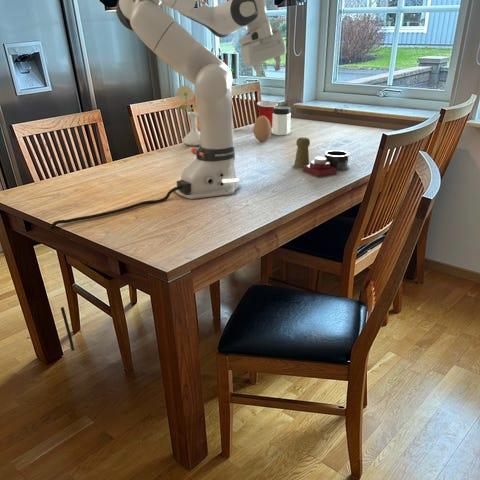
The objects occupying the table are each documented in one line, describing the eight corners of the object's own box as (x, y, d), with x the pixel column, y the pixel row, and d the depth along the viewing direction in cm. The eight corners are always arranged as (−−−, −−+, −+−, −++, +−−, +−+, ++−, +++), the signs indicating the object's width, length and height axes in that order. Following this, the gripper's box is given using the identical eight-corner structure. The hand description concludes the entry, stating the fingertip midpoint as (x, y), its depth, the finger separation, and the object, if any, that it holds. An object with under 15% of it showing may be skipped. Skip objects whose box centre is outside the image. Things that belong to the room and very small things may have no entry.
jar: (277, 130, 246) (277, 105, 240) (292, 132, 243) (293, 106, 237) (269, 134, 240) (270, 108, 233) (285, 136, 237) (285, 109, 230)
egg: (271, 139, 231) (271, 114, 225) (270, 143, 224) (270, 117, 218) (254, 139, 232) (254, 114, 226) (252, 143, 225) (252, 117, 219)
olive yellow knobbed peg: (308, 169, 188) (310, 139, 182) (293, 168, 189) (294, 139, 183) (309, 165, 193) (311, 136, 187) (294, 164, 194) (296, 135, 188)
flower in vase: (210, 142, 227) (207, 83, 214) (202, 148, 218) (199, 87, 204) (184, 141, 230) (179, 83, 216) (175, 146, 221) (170, 86, 207)
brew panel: (319, 177, 179) (320, 166, 177) (303, 171, 186) (303, 160, 184) (336, 174, 182) (337, 163, 180) (319, 168, 189) (320, 157, 187)
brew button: (319, 165, 180) (319, 160, 179) (311, 162, 183) (312, 157, 182) (328, 163, 181) (328, 158, 180) (321, 160, 185) (321, 156, 184)
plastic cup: (263, 130, 248) (263, 105, 241) (252, 126, 256) (253, 102, 249) (281, 128, 252) (282, 103, 246) (270, 124, 260) (270, 100, 254)
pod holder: (333, 172, 184) (335, 157, 181) (319, 166, 191) (320, 152, 188) (351, 168, 188) (353, 154, 185) (336, 163, 195) (338, 149, 192)
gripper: (273, 30, 187) (282, 68, 193) (235, 42, 177) (245, 82, 183) (284, 25, 182) (293, 65, 188) (246, 37, 173) (256, 78, 179)
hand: (269, 73), depth 186 cm, fingers open, 8 cm apart
